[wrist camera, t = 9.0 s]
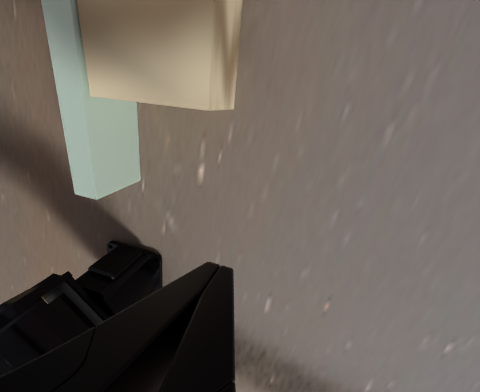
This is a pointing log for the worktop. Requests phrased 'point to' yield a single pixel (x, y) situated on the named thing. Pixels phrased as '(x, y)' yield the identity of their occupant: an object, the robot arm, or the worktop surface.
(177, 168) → the worktop surface
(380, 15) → the worktop surface
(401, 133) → the worktop surface
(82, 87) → the sage board
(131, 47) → the maple block
